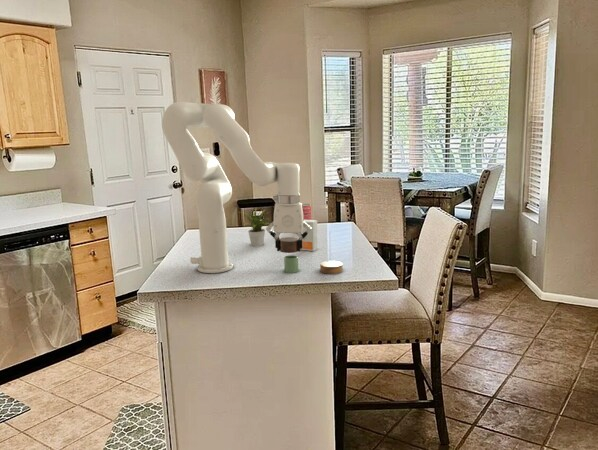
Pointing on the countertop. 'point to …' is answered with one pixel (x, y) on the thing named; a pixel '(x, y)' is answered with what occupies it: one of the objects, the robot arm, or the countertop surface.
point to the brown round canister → (288, 245)
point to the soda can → (306, 211)
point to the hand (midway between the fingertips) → (289, 249)
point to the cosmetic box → (310, 236)
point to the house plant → (257, 228)
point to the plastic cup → (291, 264)
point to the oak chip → (331, 267)
